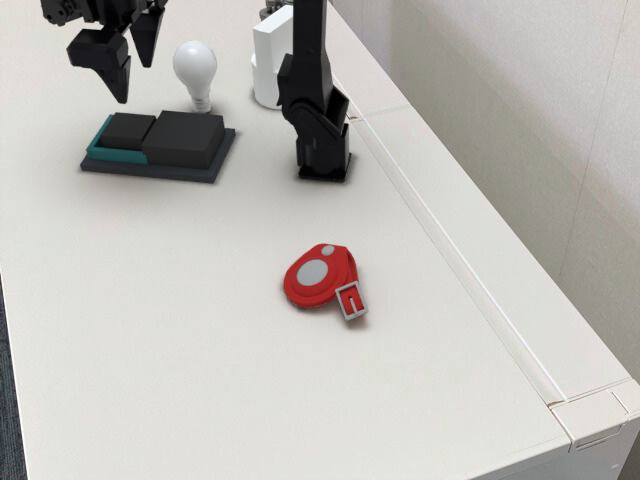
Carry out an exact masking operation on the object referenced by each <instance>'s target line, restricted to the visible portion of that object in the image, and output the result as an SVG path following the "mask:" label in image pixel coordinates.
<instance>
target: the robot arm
mask: <svg viewBox="0 0 640 480" xmlns="http://www.w3.org/2000/svg"><path fill="white" fill-rule="evenodd" d="M39 1H40V7H41V11H42V18H44V19H45V20H47V21H48V23H49V24H51V25H54V26H56V25H57V27H59V28H61V27H65V26H66V24H67V23H70V22H73V21H75V20H79V19H81V18H82V19H83V22H84V24H95V22H96V23H99V24H98V25H99V26H102V27H101V29H97V28H81V30H80V31H78V33H77V34H76V35H75V36H74V38H73V39H72V40H71V41H70V43H69V44H68V45H67V47H66V48H65V51H66V54H67V57H68V60H69V63H70V65H71V66H72V67H77V68H81V69H90V70H91V71H93V72H95V73H96V74H97V75H98V77H99V78H100V79H101V81H102V82H103V83H104V85H105V86H106V88H107V89H108V90H109V92H110V94H111V95H112V96H113V97H114V99H115V101H116V102H117V104H121V105H127V103H128V100H129V99H128V98H129V92H130V91H129V89H130V78H131V65H132V55H131V54H129V44H128V39H127V37H125V36H124V35H125V34H126V33H127V32H128V30H129V32H130V34H131V38H132V41H133V44H134V47H135V50H136V53H137V56H138V58H139V61H140V63H141V66H142V68H145V69H151V68H152V65H153V61H154V57H155V52H156V47H157V43H158V39H159V34H160V31H161V27H162V22H163V18H164V14H165V13H166V7H165V6H166V5H167V4H168V2H169V0H39ZM327 11H328V0H293V55H292V54H288V53H285V56H284V58H283V61H282V64H281V66H280V69H279V72H278V74H277V84H278V89H279V98H278V101H277V104H276V106H280V105H282V108H281V114H282V117H283V119H284V120H285V121H287V122H288V123H289V124H290V125H291V126H293V129H294V131H295V133H296V135H297V137H296V139H295V150H296V151H295V152H296V164H297V165H296V166H297V167H299V170H298V178H299V179H305V180H313V181H314V180H317V181H325V182H326V181H327V182H336V183H344V182H346V178H347V175H348V172H349V168H350V165H351V161H352V158H353V157H352V156H353V154H352V153H351V151H350V123H347V122H346V118H347V114H348V109H349V106H350V98H348V97H347V96H346V95H345V94H344V93H343V92H342V90H340V89H339V88H338V87H337V86H335V84H334V80H333V74H332V67H331V62H330V59H329V56H328V53H327V48H326V37H327V16H328V15H327V14H328V13H327Z"/></svg>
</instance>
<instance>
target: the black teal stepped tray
mask: <svg viewBox="0 0 640 480" xmlns="http://www.w3.org/2000/svg"><path fill="white" fill-rule="evenodd" d="M113 115H114V114H110V113H109V115H108V116H107V118H106V119H105V121H104V122H103V124H102V125H101V126H100V128H99V129H98V131H97V132H96V134H95V135H94V136H93V138H92V140H91V141H90V143H89V144H88V146H87V147H86V149H85V151H86V155H85V156H84V157H83V159H82V161H81V162H80V163H79V167H80V170H81V171H86V172H95V173H106V174H115V175H116V174H117V175H127V176H135V177H136V176H137V177H146V178H147V177H148V178H157V179H167V180H175V181H176V180H178V181H185V182H186V181H187V182H196V183H197V182H198V183H206V184H207V183H208V184H214V182H215V181H216V180H215V179H217V175H218V173H219V172H220V169H221V167H222V165H223V163H224V161H225V159H226V156H227V154H228V152H229V150H230V148H231V145H232V144H233V141H234V139H235V137H236V135H237V134H236V133H237V131H236V129H235V128H233V127H226V126H225V120H224V115H223V114H213V113H212V114H211V113H204V114H202V113H197V112H189V111H177V110H169V109H168V110H166V109H162V110H161V111H160V113H159V114H158V116H157V117H156V121H155V123H154V125H153V126H152V128H151V130H150V131H149V133H148V135H147V136H146V138H145V140H144V141H143V143H142V145H141V147H142V151H143V152H141V151H130V150H119V149H109V148H103V144H102V141H101V137H100V135H101V133H102V132H103V130H104V129H105V127H106V126H107V124H108V123H109V121H110V120H111V118H112V117H113Z"/></svg>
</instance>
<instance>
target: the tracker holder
mask: <svg viewBox="0 0 640 480" xmlns="http://www.w3.org/2000/svg"><path fill="white" fill-rule="evenodd" d="M358 274H359V273H358V269H357V264H356V260H355V258H354V255H353V254H352V252H351V251H350V250H349V249H348V247H347V246H344V245H338V244H332V243H318V244H316V245H314V246H313V247H311V248H310V249H308V250H307V251H306V252H304V253H303V254H302V255H301V256H300V257H298V258H297V259H296V260H295V261H294V262H293V263H292V264H291V265H290V266H289V267H288V269H287V270H286V272H285V275H284V278H283V281H282V282H283V283H282V285H283V292H284V293H285V295H286V297H287V298H288V300H289V301H290V302H291V303H292V304H293V305H296V306H298V307H301V308H305V309H307V308H311V309H312V308H316V307H321V306H324V305H326V304H328V303H330V302H332V301H333V300H334V299H336V300H337V301H338V302H339V306H340V308H341V311H342V314H343V317H344V320H345V321H351V320H352V319H353V320H354V319H355V318H357V317H360V316H363V315H365V314H367V313H369V311H370V310H369V307H368V305H367V302H366V299H365V296H364V294H363V291H362V288H361V285H360V281H359V275H358Z"/></svg>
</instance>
